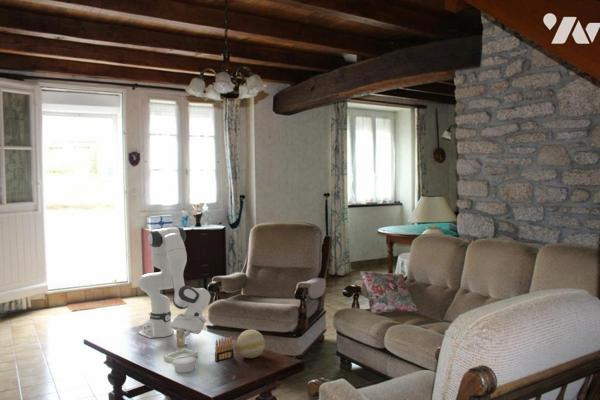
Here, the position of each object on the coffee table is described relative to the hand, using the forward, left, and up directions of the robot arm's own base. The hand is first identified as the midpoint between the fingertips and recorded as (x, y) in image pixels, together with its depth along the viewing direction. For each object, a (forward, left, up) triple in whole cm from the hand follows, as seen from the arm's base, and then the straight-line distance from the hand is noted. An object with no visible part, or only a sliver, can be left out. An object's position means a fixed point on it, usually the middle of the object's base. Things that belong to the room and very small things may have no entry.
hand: (179, 338), depth 275 cm
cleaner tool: (0, +1, -6) cm, 6 cm away
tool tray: (0, +1, -11) cm, 11 cm away
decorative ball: (+32, +21, -11) cm, 40 cm away
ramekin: (+14, -10, -12) cm, 21 cm away
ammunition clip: (+22, +11, -12) cm, 27 cm away
